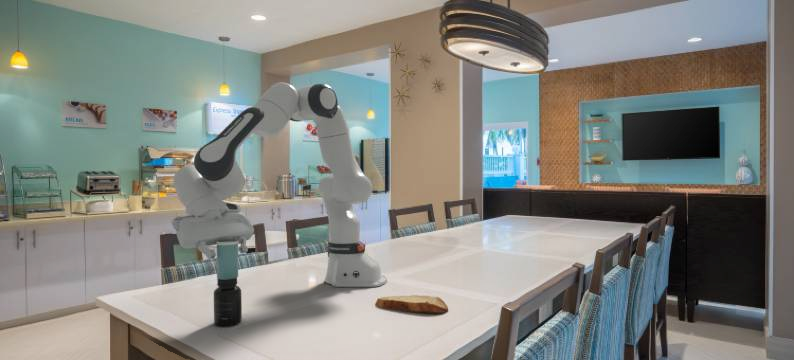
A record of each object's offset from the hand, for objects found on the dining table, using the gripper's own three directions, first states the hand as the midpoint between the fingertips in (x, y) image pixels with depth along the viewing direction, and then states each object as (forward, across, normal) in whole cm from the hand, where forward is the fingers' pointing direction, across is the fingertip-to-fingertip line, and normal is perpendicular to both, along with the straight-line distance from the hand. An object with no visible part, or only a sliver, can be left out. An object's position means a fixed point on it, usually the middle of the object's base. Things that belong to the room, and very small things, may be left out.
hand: (229, 254), depth 117 cm
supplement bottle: (+12, 0, +13) cm, 18 cm away
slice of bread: (+35, +39, -8) cm, 53 cm away
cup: (+4, 0, +5) cm, 6 cm away
